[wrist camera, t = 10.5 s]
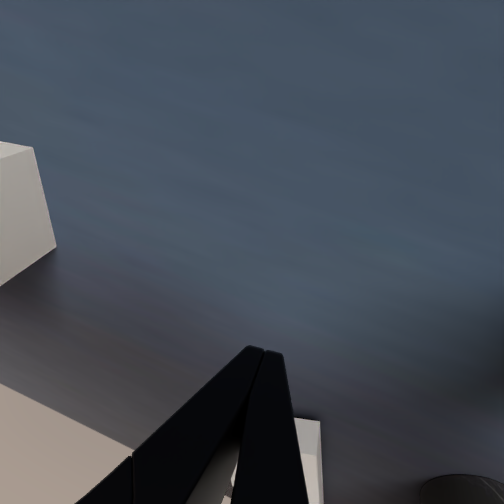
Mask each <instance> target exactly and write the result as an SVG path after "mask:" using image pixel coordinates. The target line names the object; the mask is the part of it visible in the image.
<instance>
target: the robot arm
mask: <svg viewBox="0 0 504 504" xmlns="http://www.w3.org/2000/svg"><path fill="white" fill-rule="evenodd" d="M236 464H237V468H236V474H235V480H234V486H233V492H232V498H231V504H309V500H308V494H307V488H306V483H305V477H304V471H303V465H302V460H301V454H300V448H299V443H298V437H297V431H296V425H295V420H294V414H293V408H292V403H291V397H290V391H289V385H288V380H287V374H286V368H285V363H284V357H283V355H282V354H281V353H278V352H274V351H270V350H266V351H264V349H262V348H259V347H255V346H251V345H249V346H246V347H245V348H244V349H243V350H242V351H241V352H240V353H239V354H238V355H236V356H235V357H234V358H233V359H232V360H231V361H230V362H229V363H228V364H227V365H226V366H225V367H224V368H223V369H221V370H220V371H219V372H218V373H217V374H216V375H215V376H214V377H213V378H212V379H211V380H210V381H209V382H208V383H206V384H205V385H204V386H203V387H202V388H201V389H200V390H199V391H198V392H197V393H196V394H195V395H194V396H193V397H191V398H190V399H189V400H188V401H187V402H186V403H185V404H184V405H183V406H182V407H181V408H180V409H179V410H178V411H176V412H175V413H174V414H173V415H172V416H171V417H170V418H169V419H168V420H167V421H166V422H165V423H164V424H163V425H161V426H160V427H159V428H158V429H157V430H156V431H155V432H154V433H153V434H152V435H151V436H150V437H149V438H148V439H146V440H145V441H144V442H143V443H142V444H141V445H140V446H139V447H138V448H137V449H136V450H135V451H134V452H133V453H132V457H131V456H128V457H127V458H126V459H125V460H124V461H123V462H122V463H121V464H120V465H118V467H116V468H115V469H114V470H113V471H112V472H111V473H110V474H109V475H108V476H106V477H105V478H104V479H103V480H102V481H101V482H100V483H98V484H97V485H96V486H95V487H94V488H93V489H92V490H91V491H90V492H88V493H87V494H86V495H85V496H84V497H82V498H81V499H80V500H79V501H77V502H76V503H75V504H221V503H222V500H223V498H224V495H225V493H226V490H227V487H228V485H229V482H230V480H231V477H232V475H233V472H234V470H235V467H236Z"/></svg>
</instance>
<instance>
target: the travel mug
mask: <svg viewBox="0 0 504 504" xmlns="http://www.w3.org/2000/svg"><path fill="white" fill-rule="evenodd" d="M420 504H504V484H502V483H499V482H497V481H494V480H491V479H488V478H484V477H479V476H473V475H447V476H442V477H438V478H435V479H433V480H430V481H429V482H427V483H426V484H425V485H424V486H423V487H422V489H421V492H420Z"/></svg>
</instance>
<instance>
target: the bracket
mask: <svg viewBox="0 0 504 504" xmlns="http://www.w3.org/2000/svg"><path fill="white" fill-rule="evenodd" d="M294 420H295V425H296V431H297V437H298V443H299V448H300V454H301V460H302V465H303V471H304V477H305V483H306V488H307V494H308V500H309V504H324V498H323V477H322V455H321V434H320V421H313V420H307V419H300V418H294ZM236 468H237V464H236V467H235V470H234V472H233V475H232V477H231V482H232V486H234V480H235V474H236Z"/></svg>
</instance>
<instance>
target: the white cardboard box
mask: <svg viewBox="0 0 504 504" xmlns="http://www.w3.org/2000/svg"><path fill="white" fill-rule="evenodd" d="M56 247H57V246H56V242H55V238H54V233H53V229H52V225H51V221H50V217H49V212H48V208H47V204H46V200H45V196H44V192H43V187H42V183H41V179H40V175H39V171H38V167H37V162H36V158H35V154H34V150H33V148H32V147H27V146H22V145H16V144H11V143H6V142H1V141H0V286H1V285H3V284H4V283H6V282H7V281H8V280H10V279H11V278H13V277H14V276H16V275H17V274H18V273H20V272H21V271H23V270H24V269H26V268H27V267H28V266H30V265H31V264H33V263H34V262H36V261H37V260H38V259H40V258H41V257H43V256H44V255H46V254H47V253H48V252H50V251H51V250H53V249H54V248H56Z"/></svg>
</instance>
